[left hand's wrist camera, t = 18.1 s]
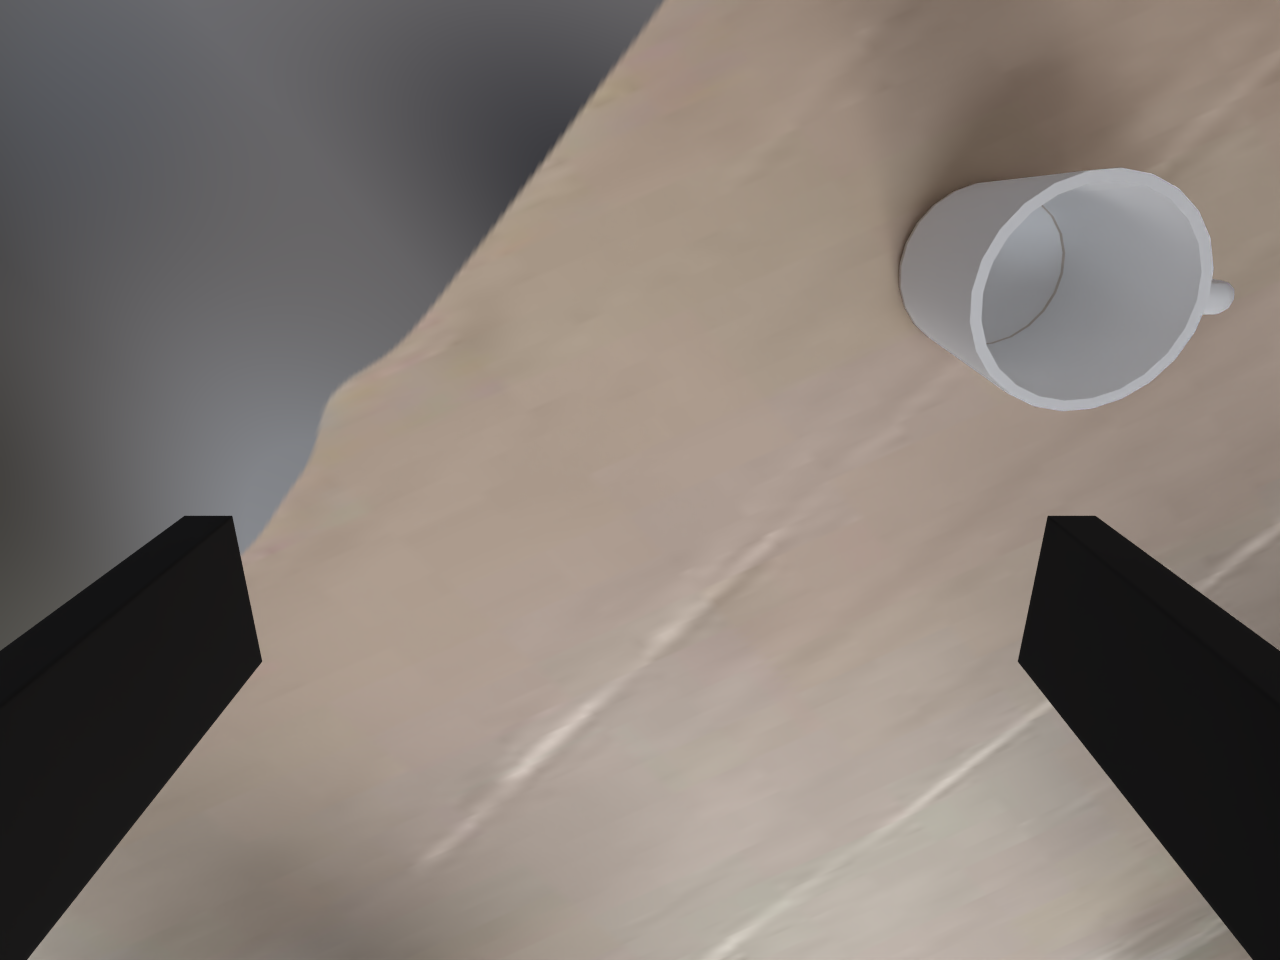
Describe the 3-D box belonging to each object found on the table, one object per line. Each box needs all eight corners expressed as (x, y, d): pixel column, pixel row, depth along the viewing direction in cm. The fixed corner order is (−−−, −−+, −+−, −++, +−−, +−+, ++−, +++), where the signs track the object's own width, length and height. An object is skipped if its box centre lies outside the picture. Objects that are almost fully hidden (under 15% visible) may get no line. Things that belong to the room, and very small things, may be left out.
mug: (875, 353, 40) (949, 406, 31) (903, 167, 37) (996, 162, 27) (1085, 361, 40) (1225, 417, 31) (1131, 177, 37) (1303, 175, 28)
